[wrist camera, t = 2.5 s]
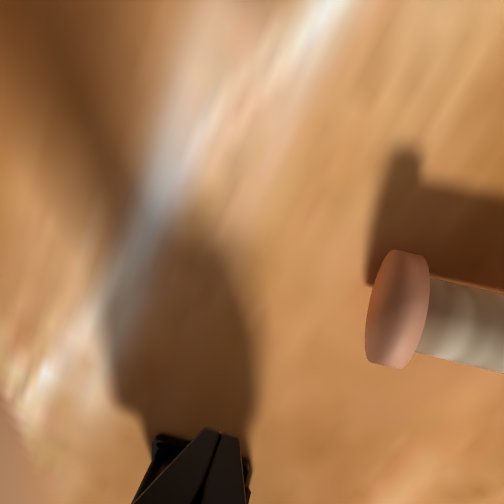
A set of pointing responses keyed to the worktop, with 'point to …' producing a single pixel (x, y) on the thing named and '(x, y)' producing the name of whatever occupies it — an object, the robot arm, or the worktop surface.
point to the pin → (431, 317)
